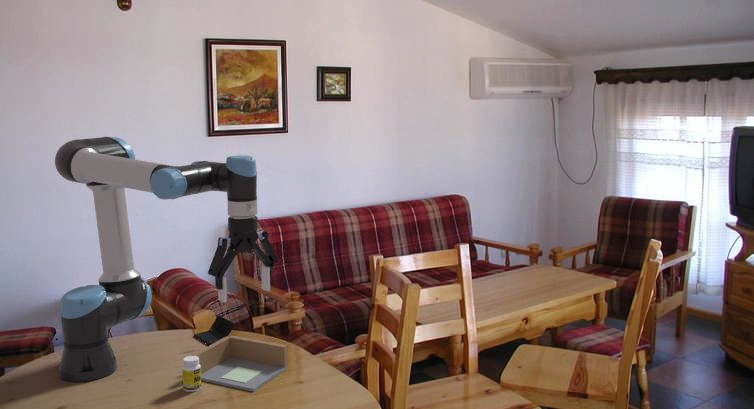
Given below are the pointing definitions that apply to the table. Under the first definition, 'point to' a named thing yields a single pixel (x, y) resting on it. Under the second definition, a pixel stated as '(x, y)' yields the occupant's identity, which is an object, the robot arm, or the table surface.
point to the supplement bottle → (191, 374)
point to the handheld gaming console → (216, 331)
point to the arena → (242, 362)
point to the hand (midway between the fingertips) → (244, 295)
